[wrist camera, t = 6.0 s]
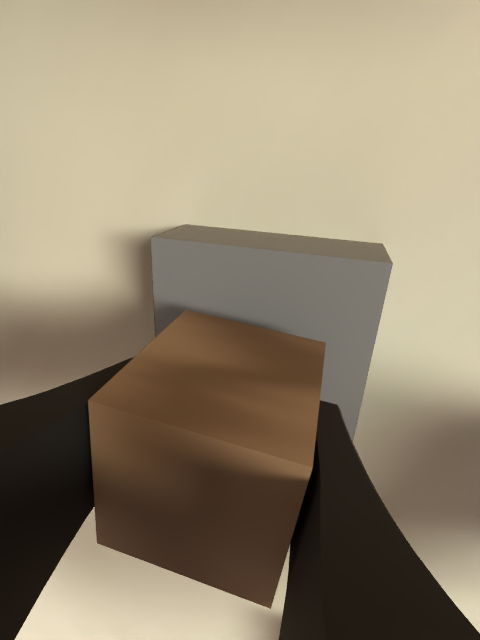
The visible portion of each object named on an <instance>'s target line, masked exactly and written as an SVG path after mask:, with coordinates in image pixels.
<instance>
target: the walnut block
mask: <svg viewBox="0 0 480 640" xmlns="http://www.w3.org/2000/svg"><path fill="white" fill-rule="evenodd" d="M325 347H326V342H321V341H317V340H313V339H309V338H304V337H300V336H296V335H292V334H287V333H283V332H279V331H275V330H270V329H266V328H262V327H258V326H253V325H249V324H245V323H241V322H236V321H232V320H228V319H224V318H219V317H215V316H211V315H206V314H202V313H198V312H194V311H189V310H185V311H184V312H183V313H182V314H181V315H180V316H178V317H177V318H176V319H175V320H174V321H173V322H172V323H171V324H170V325H169V326H168V327H167V328H166V329H164V330H163V331H162V332H161V333H160V334H159V335H158V336H157V337H156V338H155V339H154V340H153V341H152V342H150V343H149V344H148V345H147V346H146V347H145V348H144V349H143V350H142V351H141V352H140V353H139V354H137V355H136V356H135V357H134V358H133V359H132V360H131V361H130V362H129V363H128V364H127V365H126V366H125V367H123V368H122V369H121V370H120V371H119V372H118V373H117V374H116V375H115V376H114V377H113V378H112V379H110V380H109V381H108V382H107V383H106V384H105V385H104V386H103V387H102V388H101V389H100V390H99V391H98V392H96V393H95V394H94V395H93V396H92V397H91V398H90V399H89V400H88V408H89V424H90V440H91V455H92V471H93V487H94V503H95V518H96V534H97V543H98V544H101V545H104V546H106V547H109V548H112V549H114V550H117V551H119V552H122V553H125V554H127V555H130V556H133V557H135V558H138V559H141V560H143V561H146V562H149V563H151V564H154V565H157V566H159V567H162V568H164V569H167V570H170V571H172V572H175V573H178V574H180V575H183V576H186V577H188V578H191V579H194V580H196V581H199V582H201V583H204V584H207V585H209V586H212V587H215V588H217V589H220V590H223V591H225V592H228V593H231V594H233V595H236V596H239V597H241V598H244V599H246V600H249V601H252V602H254V603H257V604H260V605H262V606H265V607H268V608H270V609H271V606H272V602H273V599H274V596H275V592H276V589H277V586H278V582H279V579H280V576H281V572H282V569H283V566H284V562H285V559H286V555H287V552H288V549H289V545H290V542H291V539H292V535H293V532H294V529H295V525H296V522H297V519H298V515H299V512H300V508H301V505H302V502H303V498H304V495H305V492H306V488H307V485H308V482H309V478H310V475H311V471H312V468H313V460H314V450H315V441H316V432H317V422H318V413H319V403H320V394H321V385H322V375H323V366H324V356H325Z"/></svg>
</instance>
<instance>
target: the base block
mask: <svg viewBox="0 0 480 640" xmlns="http://www.w3.org/2000/svg"><path fill="white" fill-rule="evenodd" d="M151 254H152V276H153V298H154V320H155V338H156V337H157V336H158V335H159V334H160V333H161V332H162V331H163V330H164V329H166V328H167V327H168V326H169V325H170V324H171V323H172V322H173V321H174V320H175V319H176V318H177V317H178V316H180V315H181V314H182V313H183V312H184V311H185V310H189V311H194V312H198V313H202V314H206V315H211V316H215V317H219V318H224V319H228V320H232V321H236V322H241V323H245V324H249V325H253V326H258V327H262V328H266V329H270V330H275V331H279V332H283V333H287V334H292V335H296V336H300V337H304V338H309V339H313V340H317V341H321V342H326V347H325V356H324V366H323V375H322V385H321V394H320V400H321V401H325V402H329V403H333V404H337V405H338V407H339V408H340V410H341V413H342V416H343V419H344V422H345V425H346V427H347V430H348V433H349V435H350V437H351V440H352V442H353V437H354V433H355V428H356V424H357V419H358V415H359V411H360V406H361V402H362V397H363V393H364V388H365V384H366V380H367V375H368V371H369V366H370V362H371V357H372V353H373V348H374V344H375V340H376V335H377V331H378V326H379V322H380V317H381V313H382V309H383V304H384V300H385V295H386V291H387V286H388V282H389V278H390V273H391V269H392V264H393V263H392V261H391V259H390V257H389V255H388V253H387V251H386V249H385V247H384V245H383V244H379V243H369V242H359V241H349V240H338V239H328V238H318V237H308V236H298V235H288V234H278V233H267V232H257V231H247V230H237V229H227V228H217V227H207V226H196V225H183V226H180V227H178V228H175V229H172V230H169V231H166V232H163V233H161V234H158V235H155V236H152V237H151Z"/></svg>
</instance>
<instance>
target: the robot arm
mask: <svg viewBox="0 0 480 640" xmlns="http://www.w3.org/2000/svg"><path fill="white" fill-rule="evenodd" d="M133 358H134V357H133ZM133 358H130V359H128V360H125V361H123V362H120V363H118V364H116V365H113V366H111V367H108V368H106V369H103V370H101V371H99V372H96V373H94V374H91V375H89V376H86V377H84V378H81V379H78V380H76V381H73V382H70V383H67V384H65V385H62V386H59V387H56V388H54V389H51V390H48V391H45V392H42V393H39V394H36V395H33V396H30V397H26V398H23V399H19V400H16V401H12V402H9V403H5V404H2V405H0V640H14V639H15V638H16V636H17V634H18V632H19V631H20V629H21V627H22V625H23V623H24V622H25V620H26V618H27V616H28V615H29V613H30V611H31V609H32V608H33V606H34V604H35V602H36V600H37V599H38V597H39V595H40V593H41V592H42V590H43V588H44V586H45V585H46V583H47V581H48V580H49V578H50V576H51V575H52V573H53V571H54V570H55V568H56V566H57V565H58V563H59V561H60V559H61V558H62V556H63V554H64V553H65V551H66V549H67V548H68V546H69V545H70V543H71V541H72V540H73V538H74V537H75V535H76V533H77V532H78V530H79V529H80V527H81V525H82V524H83V522H84V521H85V519H86V517H87V516H88V515H89V513H90V512H91V510H92V509H93V507H94V506H95V503H94V487H93V471H92V455H91V440H90V424H89V408H88V400H89V399H90V398H91V397H92V396H93V395H94V394H95V393H96V392H98V391H99V390H100V389H101V388H102V387H103V386H104V385H105V384H106V383H107V382H108V381H109V380H110V379H112V378H113V377H114V376H115V375H116V374H117V373H118V372H119V371H120V370H121V369H122V368H123V367H125V366H126V365H127V364H128V363H129V362H130V361H131V360H132V359H133ZM279 640H480V633H479V632H478V631H477V630H476V629H475V627H474V626H473V625H472V624H471V623H470V622H469V620H468V619H467V618H466V617H465V616H464V615H463V613H462V612H461V611H460V610H459V609H458V607H457V606H456V605H455V604H454V602H453V601H452V600H451V599H450V597H449V596H448V595H447V594H446V592H445V591H444V590H443V589H442V587H441V586H440V585H439V583H438V582H437V581H436V579H435V578H434V577H433V575H432V574H431V573H430V571H429V570H428V569H427V567H426V566H425V565H424V564H423V562H422V561H421V560H420V558H419V557H418V556H417V554H416V553H415V551H414V550H413V549H412V547H411V546H410V544H409V543H408V541H407V540H406V538H405V537H404V536H403V534H402V532H401V531H400V529H399V528H398V526H397V525H396V523H395V522H394V520H393V518H392V517H391V515H390V514H389V512H388V510H387V509H386V507H385V505H384V503H383V502H382V500H381V498H380V497H379V495H378V493H377V491H376V489H375V487H374V486H373V484H372V482H371V480H370V478H369V476H368V474H367V472H366V470H365V468H364V466H363V464H362V462H361V460H360V458H359V456H358V453H357V451H356V449H355V447H354V445H353V442H352V440H351V437H350V435H349V433H348V430H347V427H346V425H345V422H344V419H343V416H342V413H341V410H340V408H339V407H338V405H337V404H333V403H329V402H325V401H321V400H320V403H319V413H318V422H317V432H316V441H315V450H314V460H313V468H312V471H311V475H310V478H309V482H308V485H307V488H306V492H305V495H304V498H303V502H302V505H301V508H300V512H299V515H298V519H297V522H296V525H295V529H294V532H293V535H292V539H291V543H290V557H289V572H288V581H287V590H286V597H285V603H284V610H283V616H282V623H281V629H280V636H279Z"/></svg>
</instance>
